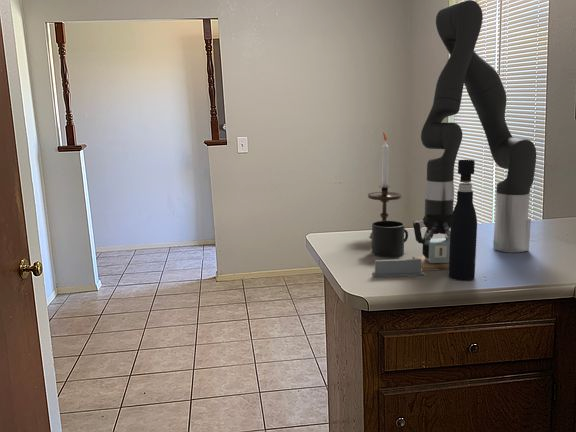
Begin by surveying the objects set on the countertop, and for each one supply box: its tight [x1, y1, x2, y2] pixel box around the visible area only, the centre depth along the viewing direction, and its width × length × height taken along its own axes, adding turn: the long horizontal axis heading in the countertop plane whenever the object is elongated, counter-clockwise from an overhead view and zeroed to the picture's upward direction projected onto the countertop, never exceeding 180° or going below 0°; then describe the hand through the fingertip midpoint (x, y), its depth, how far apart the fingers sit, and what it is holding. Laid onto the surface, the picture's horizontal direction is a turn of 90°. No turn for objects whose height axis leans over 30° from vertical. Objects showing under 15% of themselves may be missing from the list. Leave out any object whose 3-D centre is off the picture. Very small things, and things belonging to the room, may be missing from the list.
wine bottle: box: [448, 159, 478, 282], centre depth 142 cm, size 6×6×30 cm
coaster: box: [412, 255, 449, 271], centre depth 156 cm, size 11×11×1 cm
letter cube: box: [425, 237, 450, 263], centre depth 155 cm, size 6×6×6 cm
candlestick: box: [367, 131, 402, 239], centre depth 185 cm, size 11×11×35 cm
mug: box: [371, 220, 409, 258], centre depth 168 cm, size 9×12×9 cm
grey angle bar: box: [372, 258, 425, 278], centre depth 147 cm, size 13×3×4 cm, turn 92°
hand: (437, 256), depth 156 cm, fingers closed on letter cube, 5 cm apart
